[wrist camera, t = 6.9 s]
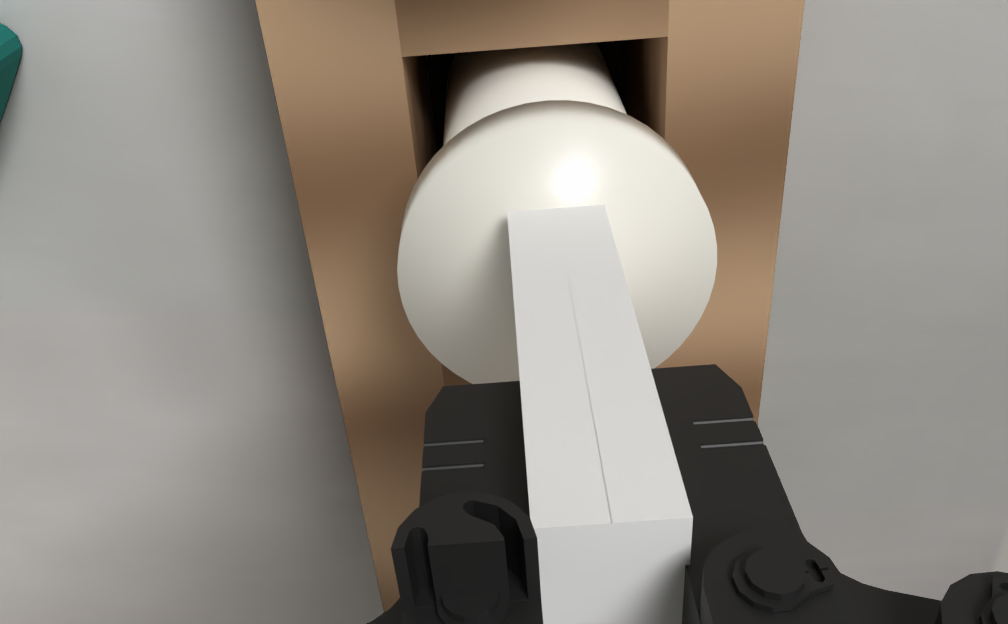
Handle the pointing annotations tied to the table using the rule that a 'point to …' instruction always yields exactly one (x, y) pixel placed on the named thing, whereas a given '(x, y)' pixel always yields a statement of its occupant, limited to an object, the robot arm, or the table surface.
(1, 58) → the digital multimeter
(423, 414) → the board
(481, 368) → the plug mid
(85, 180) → the table surface
